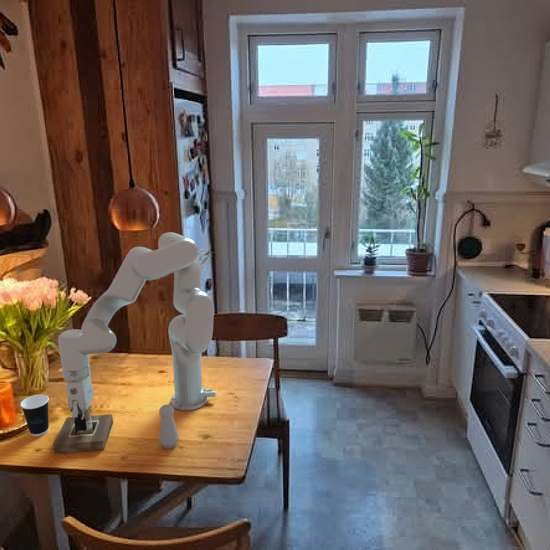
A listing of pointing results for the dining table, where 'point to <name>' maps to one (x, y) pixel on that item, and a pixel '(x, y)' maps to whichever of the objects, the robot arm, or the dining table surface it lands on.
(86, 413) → the sprinkles bottle
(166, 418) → the salt shaker
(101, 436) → the socket block
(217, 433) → the dining table surface
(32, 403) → the dixie cup
